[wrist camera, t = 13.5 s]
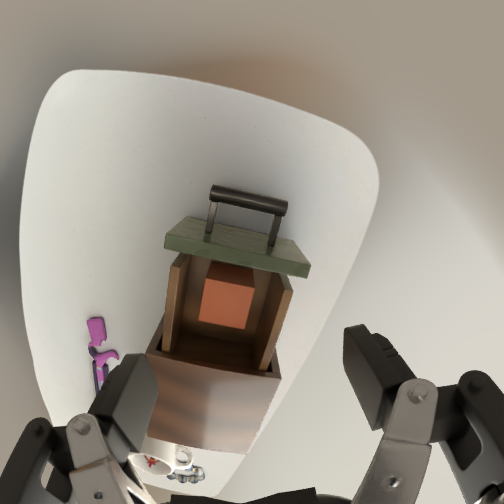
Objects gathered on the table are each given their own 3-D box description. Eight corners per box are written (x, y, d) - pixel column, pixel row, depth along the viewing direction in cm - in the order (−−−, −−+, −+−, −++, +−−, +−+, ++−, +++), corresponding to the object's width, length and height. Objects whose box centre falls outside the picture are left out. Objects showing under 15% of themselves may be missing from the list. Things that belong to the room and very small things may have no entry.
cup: (199, 430, 38) (195, 467, 31) (191, 450, 40) (187, 483, 33) (137, 412, 37) (125, 447, 29) (136, 434, 39) (126, 466, 31)
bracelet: (206, 464, 42) (205, 471, 40) (204, 480, 45) (203, 487, 43) (158, 455, 41) (157, 462, 39) (161, 473, 44) (160, 479, 42)
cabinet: (168, 304, 31) (144, 352, 22) (271, 325, 32) (281, 378, 23) (161, 387, 35) (146, 436, 26) (245, 403, 36) (247, 454, 27)
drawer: (193, 177, 26) (175, 179, 19) (303, 202, 27) (326, 214, 20) (169, 327, 31) (153, 368, 24) (262, 345, 32) (267, 389, 25)
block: (210, 261, 28) (205, 277, 24) (253, 270, 28) (255, 288, 24) (203, 299, 29) (198, 320, 25) (243, 307, 29) (244, 329, 25)
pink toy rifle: (85, 315, 30) (118, 326, 31) (87, 312, 31) (120, 322, 32) (94, 409, 36) (120, 418, 36) (96, 405, 36) (122, 414, 37)
